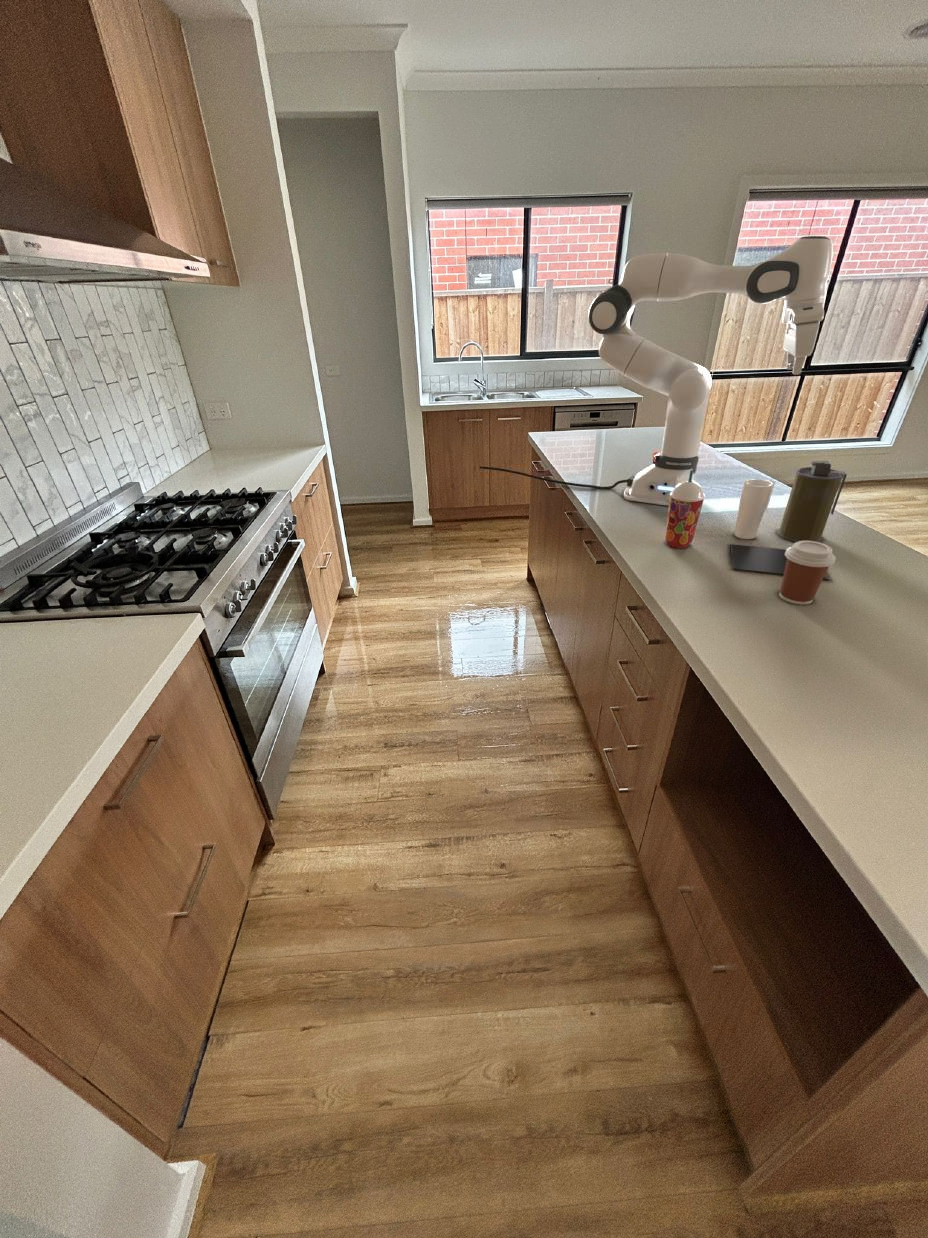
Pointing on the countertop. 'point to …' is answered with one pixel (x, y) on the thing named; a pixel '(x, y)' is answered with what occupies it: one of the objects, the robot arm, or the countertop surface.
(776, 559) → the place mat
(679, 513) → the smoothie
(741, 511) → the white tapered cylinder
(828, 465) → the canister
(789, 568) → the coffee cup
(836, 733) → the countertop surface
